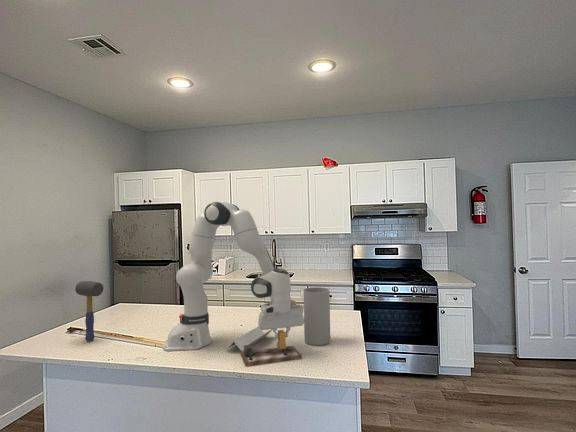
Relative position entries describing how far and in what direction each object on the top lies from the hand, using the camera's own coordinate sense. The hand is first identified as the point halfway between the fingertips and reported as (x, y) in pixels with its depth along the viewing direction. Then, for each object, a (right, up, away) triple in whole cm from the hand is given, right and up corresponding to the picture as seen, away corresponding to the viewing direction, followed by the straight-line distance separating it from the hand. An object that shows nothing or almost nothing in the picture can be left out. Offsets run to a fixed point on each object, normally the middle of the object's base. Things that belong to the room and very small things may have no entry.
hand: (281, 337), depth 152 cm
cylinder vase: (+17, -7, +15) cm, 24 cm away
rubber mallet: (-97, -9, +21) cm, 99 cm away
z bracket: (-15, -7, +12) cm, 21 cm away
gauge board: (-5, -7, -4) cm, 9 cm away
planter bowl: (0, -8, +50) cm, 51 cm away
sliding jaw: (+1, -5, -2) cm, 6 cm away
